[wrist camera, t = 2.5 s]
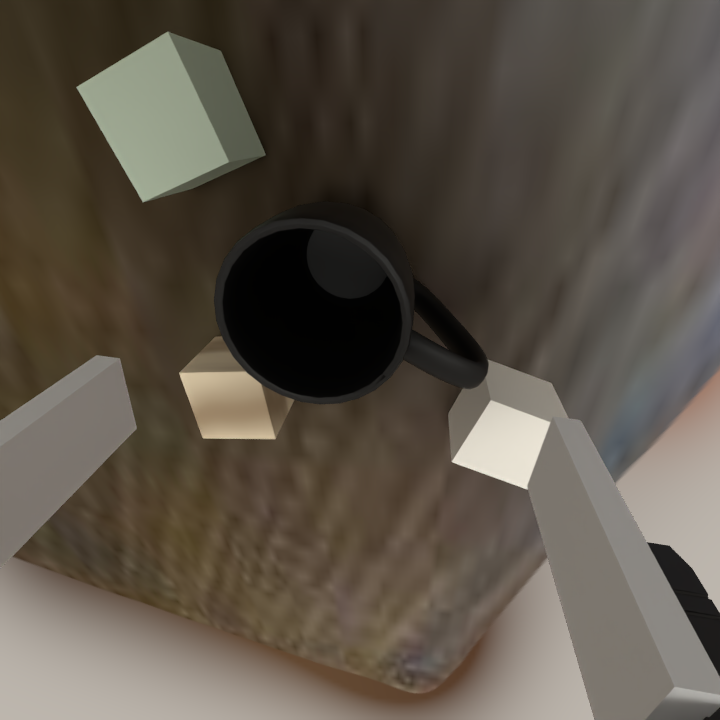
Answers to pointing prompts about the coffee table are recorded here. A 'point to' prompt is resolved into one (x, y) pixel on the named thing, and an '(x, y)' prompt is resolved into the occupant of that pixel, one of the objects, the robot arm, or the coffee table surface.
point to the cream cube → (503, 424)
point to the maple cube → (231, 397)
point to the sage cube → (172, 116)
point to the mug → (334, 308)
